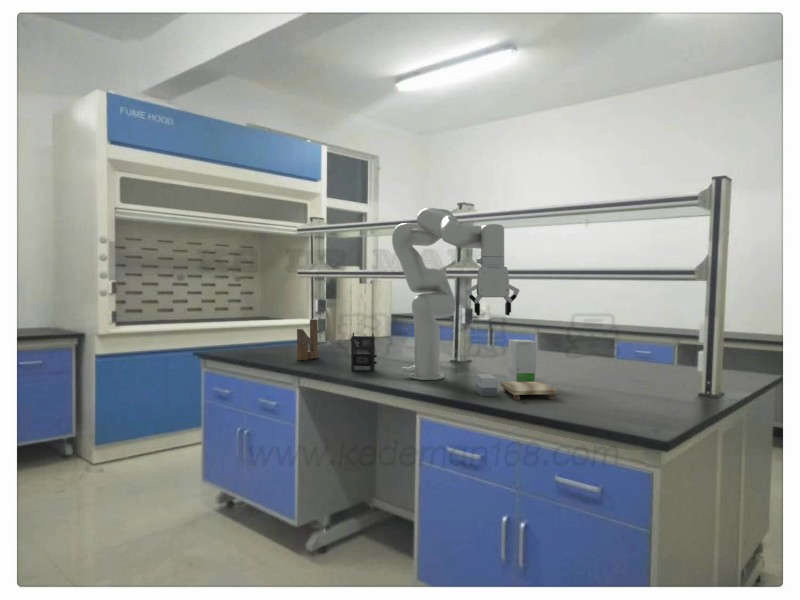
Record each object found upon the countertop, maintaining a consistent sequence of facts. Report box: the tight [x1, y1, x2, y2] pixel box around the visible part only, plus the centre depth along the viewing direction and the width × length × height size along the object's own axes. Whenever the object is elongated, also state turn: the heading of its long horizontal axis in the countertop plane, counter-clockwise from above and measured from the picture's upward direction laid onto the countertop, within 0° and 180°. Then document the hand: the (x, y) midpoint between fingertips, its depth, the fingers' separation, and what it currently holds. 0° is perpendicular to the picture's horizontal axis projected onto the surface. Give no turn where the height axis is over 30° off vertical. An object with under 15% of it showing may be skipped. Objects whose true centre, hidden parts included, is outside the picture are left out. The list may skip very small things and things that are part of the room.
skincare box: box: [507, 339, 537, 382], centre depth 200 cm, size 8×7×16 cm
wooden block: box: [296, 318, 320, 361], centre depth 254 cm, size 4×11×18 cm, turn 144°
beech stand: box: [500, 381, 558, 401], centre depth 181 cm, size 14×14×3 cm
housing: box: [475, 373, 498, 397], centre depth 182 cm, size 5×8×6 cm, turn 6°
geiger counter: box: [350, 332, 377, 372], centre depth 226 cm, size 10×4×15 cm, turn 84°
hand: (492, 315), depth 183 cm, fingers open, 9 cm apart
